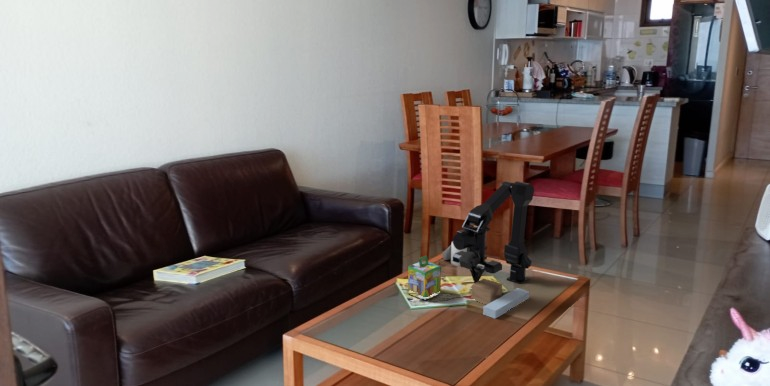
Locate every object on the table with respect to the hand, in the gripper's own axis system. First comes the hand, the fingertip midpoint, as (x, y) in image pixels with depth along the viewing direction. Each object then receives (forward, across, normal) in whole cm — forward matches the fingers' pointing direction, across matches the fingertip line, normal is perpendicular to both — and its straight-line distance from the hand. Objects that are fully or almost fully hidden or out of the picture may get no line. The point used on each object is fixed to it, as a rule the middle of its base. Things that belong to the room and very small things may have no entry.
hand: (476, 283), depth 234 cm
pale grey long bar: (+5, +14, 0) cm, 14 cm away
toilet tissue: (+5, -26, +23) cm, 35 cm away
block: (+5, +5, 0) cm, 7 cm away
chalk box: (+5, -15, -12) cm, 20 cm away
